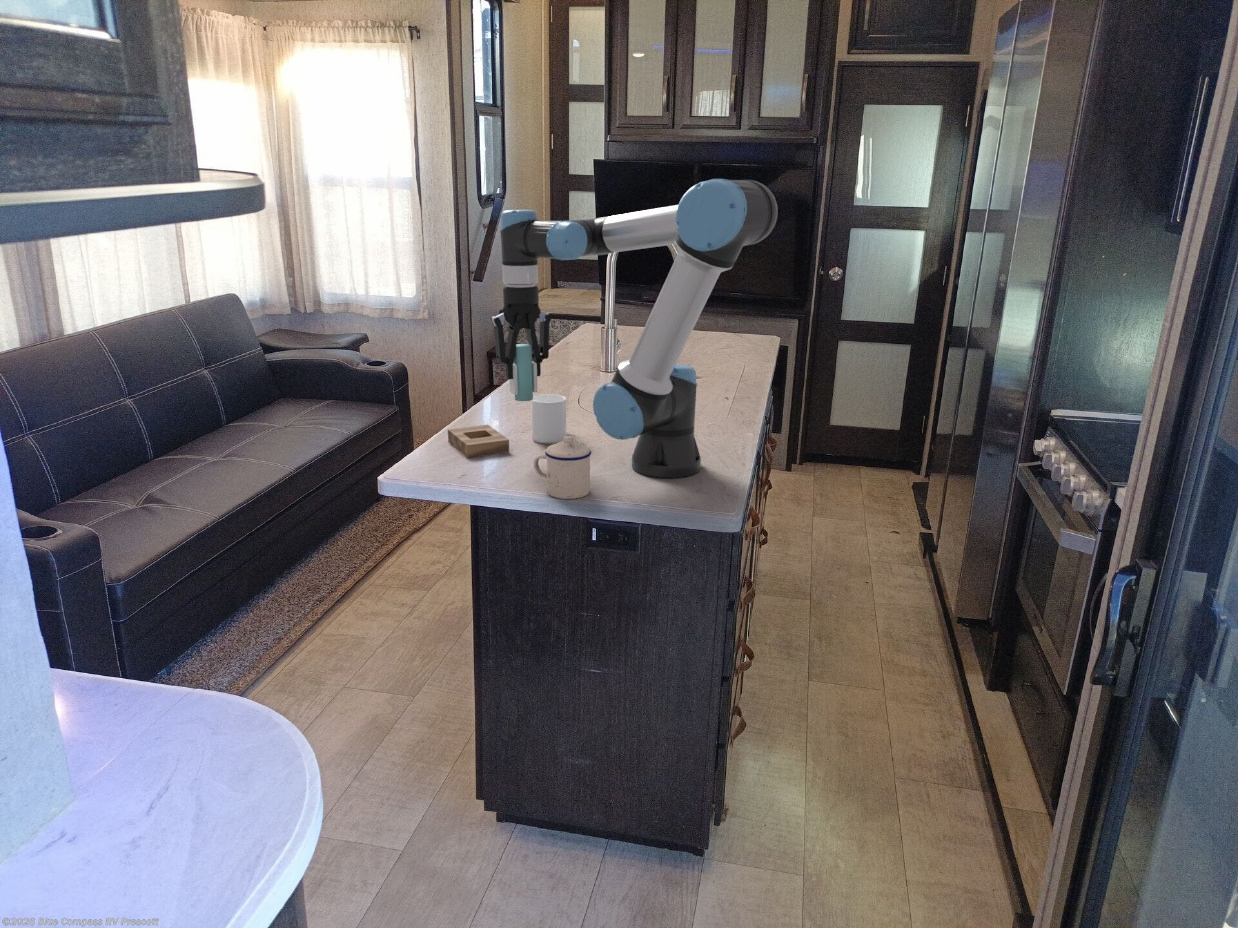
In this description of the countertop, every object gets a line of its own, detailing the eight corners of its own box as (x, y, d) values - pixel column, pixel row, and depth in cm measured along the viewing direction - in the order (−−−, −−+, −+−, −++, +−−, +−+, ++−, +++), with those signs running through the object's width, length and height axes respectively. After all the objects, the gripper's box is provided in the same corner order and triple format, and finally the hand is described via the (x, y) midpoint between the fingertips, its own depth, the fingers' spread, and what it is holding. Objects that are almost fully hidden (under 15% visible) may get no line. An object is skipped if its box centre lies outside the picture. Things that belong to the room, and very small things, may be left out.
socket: (509, 452, 201) (508, 439, 200) (467, 457, 196) (466, 445, 195) (488, 436, 213) (487, 424, 212) (448, 441, 208) (447, 429, 207)
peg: (535, 400, 193) (534, 346, 190) (518, 402, 192) (517, 347, 188) (528, 396, 197) (527, 343, 193) (512, 398, 195) (510, 344, 191)
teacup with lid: (597, 488, 179) (597, 433, 175) (580, 502, 171) (580, 445, 167) (543, 480, 183) (543, 427, 179) (525, 494, 175) (523, 438, 171)
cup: (525, 441, 209) (524, 400, 206) (549, 428, 220) (548, 389, 217) (556, 445, 206) (556, 404, 203) (578, 433, 217) (578, 393, 214)
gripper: (550, 281, 193) (552, 385, 201) (476, 285, 186) (481, 392, 193) (564, 284, 187) (565, 391, 194) (488, 288, 179) (493, 399, 187)
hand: (523, 391), depth 194 cm, fingers closed on peg, 4 cm apart
